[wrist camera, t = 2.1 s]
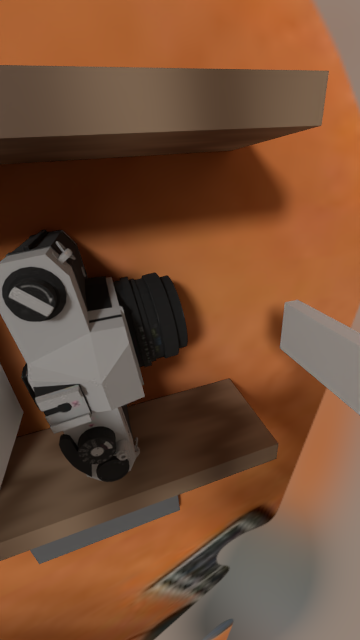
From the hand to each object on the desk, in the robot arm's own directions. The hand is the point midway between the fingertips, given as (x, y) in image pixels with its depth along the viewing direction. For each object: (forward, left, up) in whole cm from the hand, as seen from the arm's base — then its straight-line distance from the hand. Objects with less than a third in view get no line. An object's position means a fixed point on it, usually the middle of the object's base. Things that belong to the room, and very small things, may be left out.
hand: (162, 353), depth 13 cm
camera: (-2, -1, -7) cm, 7 cm away
